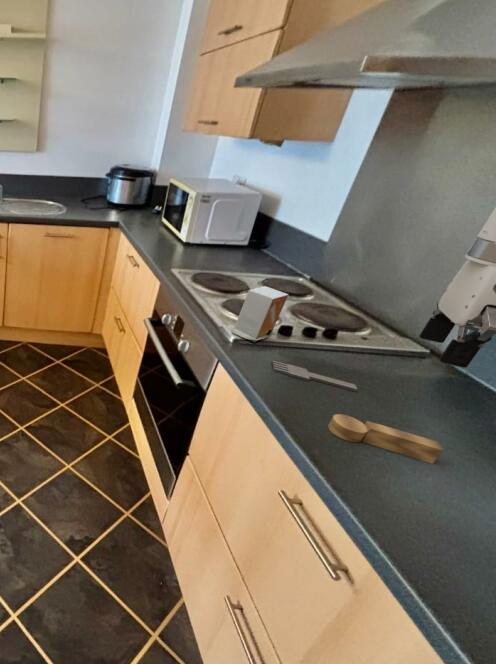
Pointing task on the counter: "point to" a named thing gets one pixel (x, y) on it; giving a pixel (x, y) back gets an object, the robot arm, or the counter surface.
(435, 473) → the counter surface
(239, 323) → the small box
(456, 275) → the robot arm
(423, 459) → the wooden spoon
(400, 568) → the counter surface
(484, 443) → the counter surface
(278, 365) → the serving fork
